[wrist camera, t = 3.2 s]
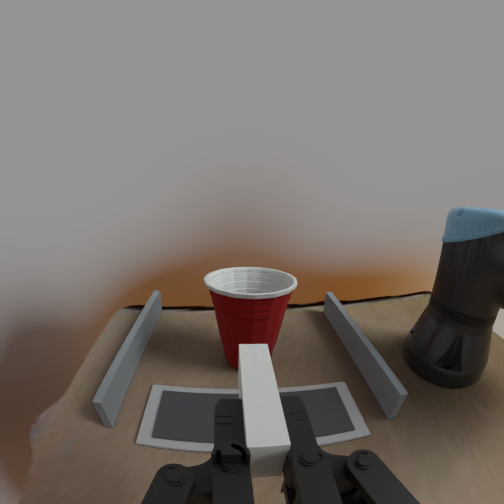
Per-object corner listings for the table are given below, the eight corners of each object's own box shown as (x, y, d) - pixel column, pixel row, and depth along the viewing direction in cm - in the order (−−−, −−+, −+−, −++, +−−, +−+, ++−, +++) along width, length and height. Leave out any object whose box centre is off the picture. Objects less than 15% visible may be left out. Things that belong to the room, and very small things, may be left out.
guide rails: (328, 311, 48) (331, 292, 47) (395, 417, 22) (408, 393, 21) (156, 310, 45) (154, 290, 44) (104, 426, 20) (92, 401, 19)
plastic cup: (280, 335, 40) (287, 261, 37) (295, 381, 30) (309, 294, 27) (209, 336, 39) (206, 260, 36) (205, 384, 29) (199, 294, 26)
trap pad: (343, 382, 29) (344, 380, 29) (369, 435, 21) (371, 432, 21) (153, 386, 28) (152, 383, 27) (136, 444, 19) (135, 441, 19)
